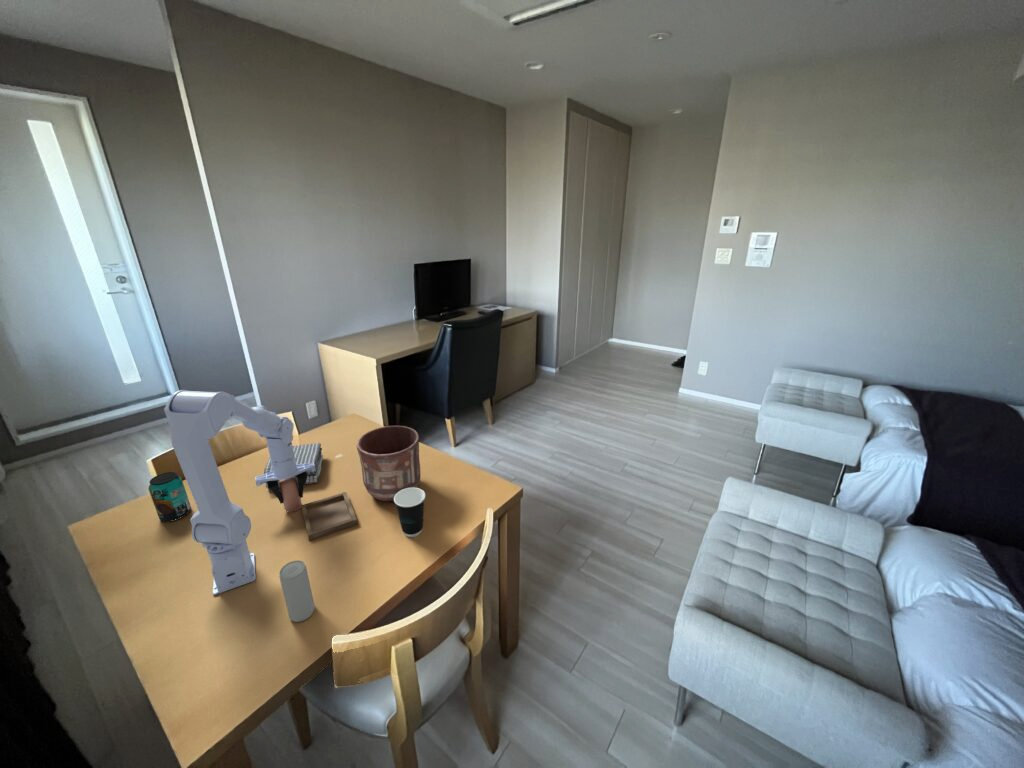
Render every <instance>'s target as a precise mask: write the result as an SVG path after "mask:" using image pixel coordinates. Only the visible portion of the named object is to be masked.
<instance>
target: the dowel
mask: <svg viewBox="0 0 1024 768" xmlns="http://www.w3.org/2000/svg"><path fill="white" fill-rule="evenodd" d="M279 486H280V487H279V489H280V492H281V495H282V499H283V503H282V504H283V509H284V511H285V510H286V511H285V512H287V511H290V512H289V513H292V512H291V511H294V512H296V511H298V510H300V509H301V508H302V506H301V505H303V504H302V498H300V493H299V487H298V483H297V479H296V477H294V476H293V477H291V478H288V479H283V480H280V481H279ZM300 507H301V508H300ZM299 508H300V509H299ZM297 509H298V510H297ZM295 510H296V511H295Z"/></svg>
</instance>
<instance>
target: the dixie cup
mask: <svg viewBox="0 0 1024 768" xmlns="http://www.w3.org/2000/svg"><path fill="white" fill-rule="evenodd" d="M425 499H426V492H425V491H424V490H423V489H421V488H419V487H416V488H406V489H403V490H401V491H399V492H398V493H397V494H396V495H395V497H394V501H393V502H394V504H395V506H396V510H397V515H398V518H399V523H400V527H401V531H402V532H403V534H404V536H406V537H408V538H414V537H417V536H419V535H420V534H422V531H423V527H424V511H425V510H424V509H425Z"/></svg>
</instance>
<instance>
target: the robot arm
mask: <svg viewBox="0 0 1024 768" xmlns="http://www.w3.org/2000/svg"><path fill="white" fill-rule="evenodd" d="M163 411H164V413H165V416H166V419H167V422H168V425H169V427H170V437H171V438H170V440H171V446H172V448H173V450H174V453H175V455H176V457H177V460H178V463H179V465H180V468H181V470H182V472H183V475H184V478H185V481H186V482H187V485H188V488H189V490H190V492H191V496H192V497H193V500H194V502H195V503H194V504H195V505H196V508H197V510H196V512H194V513H193V515H192V517H191V518H190V520H189V522H190V523H191V538H192V540H193V541H194V542H196V543H200V544H201V545H202V548H205V549H206V553H207V555H208V557H209V561H210V565H211V573H212V576H213V584H212V595H213V596H215V595H218V594H222V593H224V592H226V591H229V590H232V589H235V588H238V587H240V586H243V585H246V584H248V583H251V582H254V581H256V562H255V560H256V559H255V553H254V552H251V553H250V550H249V546H248V542H247V538H248V536H249V535H250V533H251V530H252V523H251V522H252V521H251V519H250V517H249V515H246V514H245V512H244V509H243V508H242V507H240V506H239V505H237V504H235V503H233V502H232V501H230V498H229V496H228V493H227V489H226V486H225V484H224V481H223V478H222V476H221V473H220V470H219V467H218V464H217V462H216V461H217V460H216V459H215V456H214V453H213V450H212V447H211V444H210V442H209V441H210V439H212V438H214V437H217V436H218V434H219V432H220V431H221V430H222V428H224V426H225V424H226V423H227V421H228V420H229V419H230V418H233V419H235V420H239V421H242V425H243V426H244V428H246V429H247V430H250V431H254V432H255V433H257V434H258V436H259V437H260V438H265V441H266V445H267V450H268V454H269V457H270V459H271V464H272V468H273V471H270V472H268V473H265V474H264V473H262V474H259V475H257V476H255V477H254V479H255V486H256V487H261V486H262V485H263V484H266V483H267V485H268V490H269V491H270V492H272V493H273V494H274V495H275V497H276V498H277V499H278V501H279V503H280V504H283V499H282V495H281V491H280V487H279V484H278V480H283V479H288V478H291V477H293V476H295V475H296V476H297V480H298V488H299V493H300V498H301V499H302V498H304V487H305V485H306V484H305V482H306V480H307V474H306V472H309V471H311V472H314V471H316V470H315V465H314V462H313V463H307V464H296V460H295V456H294V451H293V446H294V445H293V440H294V434H293V433H294V427H295V426H294V422H293V421H292V420H291V419H289V417H287V416H286V417H285V416H279V415H278V414H277V412H274V411H270V410H267V407H266V406H265V405H257V406H252V407H251V406H248V405H247V404H245V403H244V402H242V401H240V400H238V399H237V398H236V397H235V395H233V394H229V393H227V392H226V391H196V390H193V391H192V390H187V389H179V390H177V391H175V392H174V393H173V394H172V395H171V396H170V398H169V399H168V401H167V403H166V404H165V407H164V408H163Z"/></svg>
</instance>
